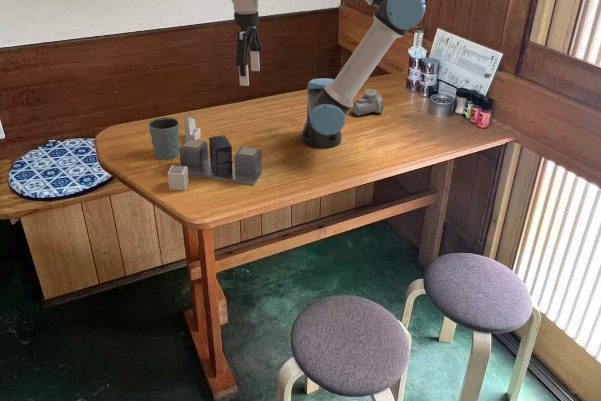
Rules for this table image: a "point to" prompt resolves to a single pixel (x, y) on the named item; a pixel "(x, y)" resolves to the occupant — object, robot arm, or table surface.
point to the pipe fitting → (368, 103)
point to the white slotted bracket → (191, 129)
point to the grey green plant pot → (165, 137)
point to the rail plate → (243, 169)
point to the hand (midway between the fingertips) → (250, 77)
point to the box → (220, 155)
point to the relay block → (178, 178)
